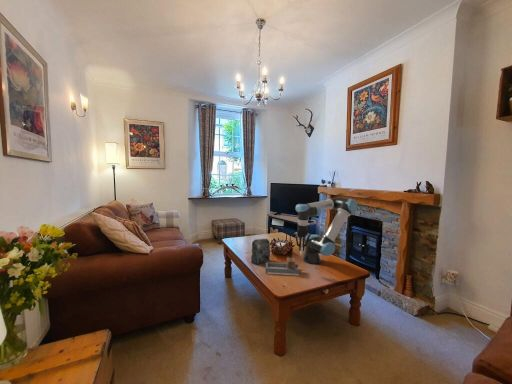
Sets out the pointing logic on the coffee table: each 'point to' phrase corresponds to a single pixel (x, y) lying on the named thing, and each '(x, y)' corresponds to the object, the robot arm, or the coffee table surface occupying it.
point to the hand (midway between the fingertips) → (301, 254)
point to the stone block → (260, 251)
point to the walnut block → (290, 263)
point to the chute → (280, 269)
